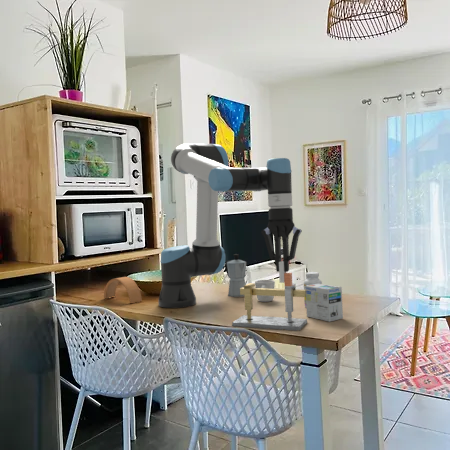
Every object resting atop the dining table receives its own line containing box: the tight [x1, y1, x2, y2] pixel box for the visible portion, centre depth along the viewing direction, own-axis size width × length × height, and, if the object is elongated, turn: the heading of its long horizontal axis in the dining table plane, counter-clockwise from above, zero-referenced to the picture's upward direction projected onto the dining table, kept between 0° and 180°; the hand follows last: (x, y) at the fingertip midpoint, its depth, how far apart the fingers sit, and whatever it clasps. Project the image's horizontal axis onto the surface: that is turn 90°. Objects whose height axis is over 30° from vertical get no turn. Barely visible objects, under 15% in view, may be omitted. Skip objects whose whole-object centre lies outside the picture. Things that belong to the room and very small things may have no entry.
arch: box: [103, 276, 143, 304], centre depth 199 cm, size 6×20×10 cm, turn 48°
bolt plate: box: [231, 314, 308, 331], centre depth 148 cm, size 22×10×1 cm, turn 66°
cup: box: [254, 279, 276, 303], centre depth 184 cm, size 11×8×8 cm
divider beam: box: [240, 282, 307, 319], centre depth 149 cm, size 22×5×11 cm, turn 66°
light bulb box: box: [305, 283, 344, 322], centre depth 154 cm, size 11×7×11 cm, turn 35°
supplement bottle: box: [303, 271, 323, 308], centre depth 170 cm, size 7×7×13 cm
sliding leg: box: [284, 272, 297, 321], centre depth 147 cm, size 2×6×15 cm, turn 157°
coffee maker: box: [223, 253, 247, 298], centre depth 201 cm, size 15×9×18 cm, turn 35°
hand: (283, 281), depth 145 cm, fingers closed
